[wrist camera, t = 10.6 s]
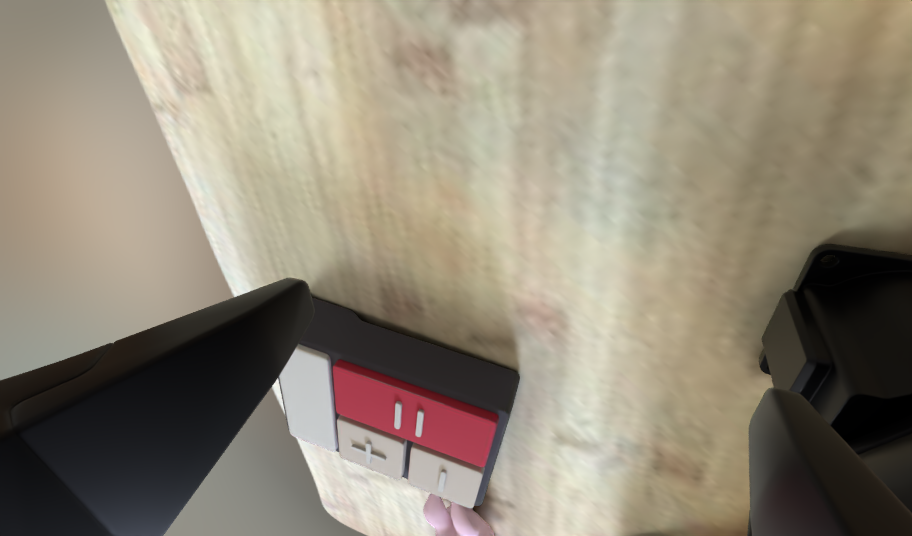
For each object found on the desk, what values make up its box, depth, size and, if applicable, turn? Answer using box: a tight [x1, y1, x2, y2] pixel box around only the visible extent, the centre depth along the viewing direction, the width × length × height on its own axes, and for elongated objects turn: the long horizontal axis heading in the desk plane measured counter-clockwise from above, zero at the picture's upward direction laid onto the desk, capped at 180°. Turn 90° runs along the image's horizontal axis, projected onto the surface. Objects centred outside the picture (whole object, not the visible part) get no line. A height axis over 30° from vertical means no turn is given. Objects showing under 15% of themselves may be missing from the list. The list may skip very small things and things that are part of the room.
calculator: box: [278, 298, 520, 508], centre depth 30 cm, size 11×4×15 cm
